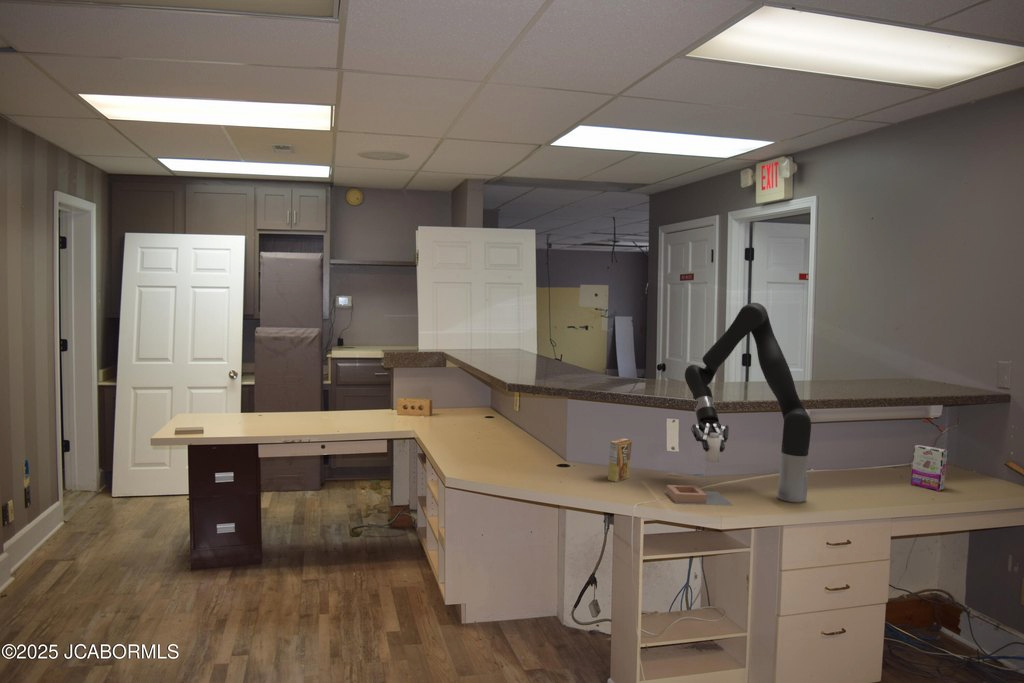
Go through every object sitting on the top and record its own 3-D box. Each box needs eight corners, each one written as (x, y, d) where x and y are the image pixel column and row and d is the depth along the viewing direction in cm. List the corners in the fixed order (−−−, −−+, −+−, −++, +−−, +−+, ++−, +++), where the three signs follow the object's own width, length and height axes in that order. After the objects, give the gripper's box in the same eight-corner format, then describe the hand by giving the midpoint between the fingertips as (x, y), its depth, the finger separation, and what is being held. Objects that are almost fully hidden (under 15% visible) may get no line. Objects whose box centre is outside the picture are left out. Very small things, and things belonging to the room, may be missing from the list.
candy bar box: (944, 489, 299) (948, 449, 297) (939, 491, 295) (943, 451, 294) (914, 482, 307) (919, 443, 305) (909, 484, 304) (913, 445, 302)
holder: (717, 494, 276) (718, 483, 275) (733, 508, 260) (734, 496, 259) (662, 493, 274) (663, 482, 273) (675, 507, 258) (676, 495, 258)
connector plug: (716, 458, 273) (718, 432, 272) (721, 462, 268) (723, 435, 267) (703, 458, 272) (705, 431, 271) (707, 462, 267) (709, 434, 266)
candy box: (620, 476, 294) (623, 438, 293) (629, 478, 291) (632, 440, 290) (607, 479, 288) (609, 441, 286) (616, 482, 285) (619, 443, 284)
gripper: (690, 404, 275) (698, 444, 264) (727, 406, 276) (737, 445, 265) (684, 416, 281) (692, 455, 270) (721, 417, 282) (730, 456, 271)
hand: (714, 450), depth 268 cm, fingers closed on connector plug, 5 cm apart
